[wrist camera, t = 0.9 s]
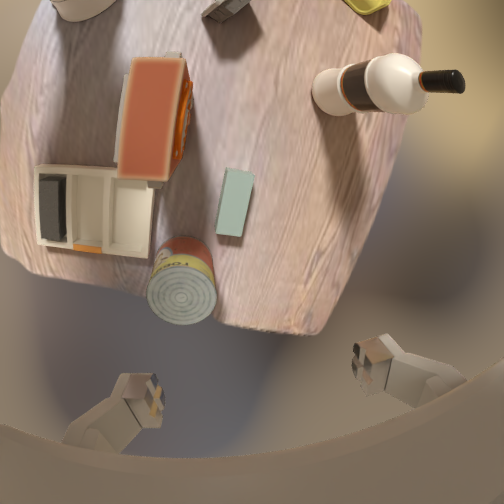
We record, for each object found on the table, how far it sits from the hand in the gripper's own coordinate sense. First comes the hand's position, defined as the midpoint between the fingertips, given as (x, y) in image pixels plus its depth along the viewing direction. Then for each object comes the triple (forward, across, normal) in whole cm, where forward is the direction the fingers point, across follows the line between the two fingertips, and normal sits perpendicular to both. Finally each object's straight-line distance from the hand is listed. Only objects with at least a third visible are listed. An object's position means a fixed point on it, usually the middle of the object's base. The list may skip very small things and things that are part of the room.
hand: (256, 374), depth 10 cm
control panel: (+38, +8, -18) cm, 43 cm away
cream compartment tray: (+39, +26, -6) cm, 47 cm away
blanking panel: (+42, 0, -3) cm, 42 cm away
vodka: (+40, -21, -21) cm, 50 cm away
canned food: (+43, +11, +8) cm, 45 cm away
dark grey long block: (+37, +33, -9) cm, 51 cm away
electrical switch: (+35, -4, -39) cm, 53 cm away
